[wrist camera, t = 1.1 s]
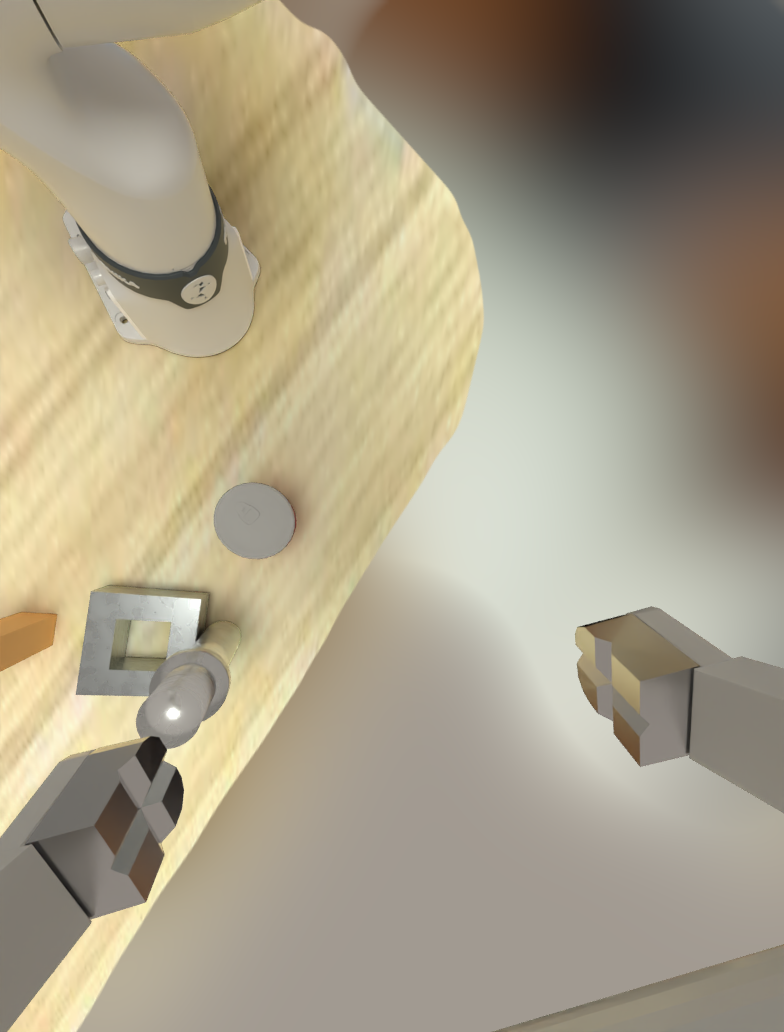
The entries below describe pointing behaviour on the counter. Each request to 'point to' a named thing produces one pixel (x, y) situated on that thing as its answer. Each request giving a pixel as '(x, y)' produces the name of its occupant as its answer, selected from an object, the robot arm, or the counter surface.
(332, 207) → the counter surface
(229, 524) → the canned food
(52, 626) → the tall orange pillar block
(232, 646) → the grey socket with post
